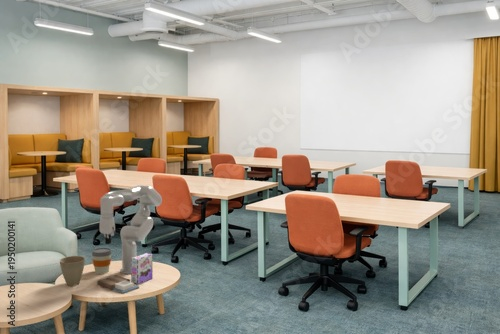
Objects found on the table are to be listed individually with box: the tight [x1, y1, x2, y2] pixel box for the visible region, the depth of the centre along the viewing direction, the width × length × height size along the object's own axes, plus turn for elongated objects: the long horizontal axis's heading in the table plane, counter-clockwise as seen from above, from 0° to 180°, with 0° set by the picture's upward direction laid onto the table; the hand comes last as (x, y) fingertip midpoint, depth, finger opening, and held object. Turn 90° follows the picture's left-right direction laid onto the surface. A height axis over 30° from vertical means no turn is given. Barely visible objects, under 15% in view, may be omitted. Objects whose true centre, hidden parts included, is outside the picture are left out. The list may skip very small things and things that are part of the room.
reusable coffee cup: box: [91, 247, 112, 275], centre depth 311 cm, size 13×13×15 cm
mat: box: [112, 284, 140, 295], centre depth 280 cm, size 12×10×1 cm
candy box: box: [130, 252, 153, 285], centre depth 294 cm, size 14×6×16 cm, turn 149°
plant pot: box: [59, 255, 86, 287], centre depth 286 cm, size 15×15×16 cm
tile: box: [115, 280, 135, 291], centre depth 280 cm, size 8×8×2 cm
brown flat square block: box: [96, 274, 131, 291], centre depth 287 cm, size 14×14×3 cm
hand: (108, 243), depth 292 cm, fingers closed
